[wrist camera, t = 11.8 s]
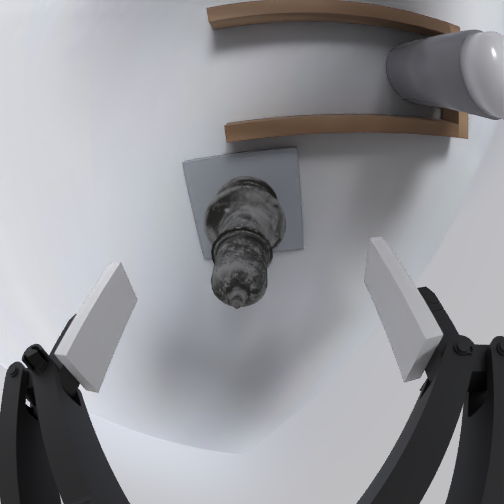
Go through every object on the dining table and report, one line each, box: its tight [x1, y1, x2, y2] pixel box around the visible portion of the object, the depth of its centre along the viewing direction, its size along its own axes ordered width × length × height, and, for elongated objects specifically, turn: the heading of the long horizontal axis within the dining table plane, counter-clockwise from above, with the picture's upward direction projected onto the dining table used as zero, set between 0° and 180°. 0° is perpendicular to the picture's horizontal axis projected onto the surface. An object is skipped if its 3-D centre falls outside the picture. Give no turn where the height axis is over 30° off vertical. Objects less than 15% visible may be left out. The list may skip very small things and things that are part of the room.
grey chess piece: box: [203, 176, 286, 309], centre depth 18 cm, size 6×6×12 cm
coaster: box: [182, 147, 303, 259], centre depth 23 cm, size 9×9×1 cm
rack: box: [207, 0, 468, 142], centre depth 16 cm, size 10×20×2 cm, turn 97°
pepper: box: [386, 30, 504, 120], centre depth 12 cm, size 6×6×11 cm
